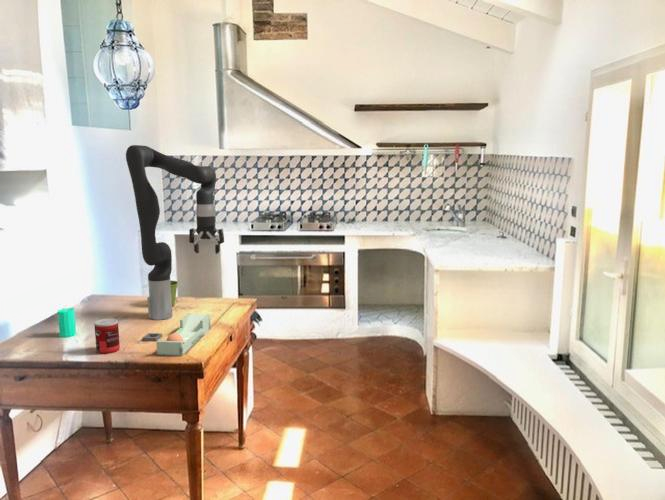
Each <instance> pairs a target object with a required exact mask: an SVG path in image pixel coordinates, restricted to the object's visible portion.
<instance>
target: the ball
mask: <svg viewBox="0 0 665 500" xmlns="http://www.w3.org/2000/svg"><path fill="white" fill-rule="evenodd" d="M166 339H167V340H166ZM166 339H165V340H166V341H183V338H182V336H181V335H179V334H177V333H175V332H174V333H171V334H169V335H168V336H167V337H166Z"/></svg>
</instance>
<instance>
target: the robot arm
mask: <svg viewBox="0 0 665 500" xmlns="http://www.w3.org/2000/svg"><path fill="white" fill-rule="evenodd" d="M125 161H126V165H127V168H128V172H129V175H130V178H131V184H132V189H133V194H134V201H135V206H136V207H135V208H136V212H137V216H138V217H137V219H138V223H139V230H140V240H141V241H140V243H141V254H142V259H143V261H144V262H145V264H146V265H148V266H150V267H151V266H152V267H153V266H154V267H153V268H152V269H151V270H150V272H148V274H147V280H148V296H147V297H146V298H147V311H148V319H151V320H155V321H157V320H158V321H159V320H160V321H161V320H168V319H170V318H172V317H173V306H172V301H171V284H170V280H171V274H172V270H173V269H172V268H173V266H172V261H173V258H172V257H173V256H172V250H171V247H170V245H169V244H168V243H166V242H164V241H161V242H160V241H159V242H157V240H156V229H157V225H158V221H159V219H160V214H161V210H160V209H161V208H160V203H159V198H158V194H157V193H156V190H154V188H153V187H152V185H151V183H150V181H149V179H148V177H147V174H146V173H147V172H146V168H157V169H162V170H163V171H166V172H167V173H169V174H171V175H174V176H177V177H181V178H184V179H187V180H189V181H190V182H192V183H196V184H200V188H199V189H198V190H197V191H196V193H195V197H196V200H195V201H196V209H195V210H196V211H195V213H196V215H195V216H196V228H193V227H192V228H190V229H189V231H188V233H189V234H188V235H189V238H188V239H189V240H188V242H189V243H190V244H192V245H193V251H194V252H195V254H199V253H200V245H199V244H200V241H201V240H211V241H212V242H213V243H214V250H215V252H214V253H215V254H217V255H218V254H219V253H220V251H221V244H223V243H225V236H224V229H223V228H219V229H217V227H216V210H215V204H214V203H215V202H214V201H215V197H214V192H215V188H216V182H217V174H216V171H215V169H214V167H212V166H208V165H206V166H205V165H202V166H201V165H196V164H194V163H192V162H190V161H188V160H185V159H181V158H177V157H173V156H170V155H168V154H164V153H162V152H160V151H158V150H156V149H153V148H152V147H150V146H147V145H141V144H140V145H137V144H132V145H129V146H128V148H127V149H126V151H125ZM196 233H197V237H196V238H195V234H196ZM216 234H217V235H218V237H219V238H218V237H217V235H216Z"/></svg>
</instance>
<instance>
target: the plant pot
mask: <svg viewBox="0 0 665 500" xmlns="http://www.w3.org/2000/svg"><path fill="white" fill-rule="evenodd" d="M170 284H171V301H172V307H174V306H175V304H176V296H177V290H178V285H179V284H180V283H179V281H177V280H171V279H170Z"/></svg>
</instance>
